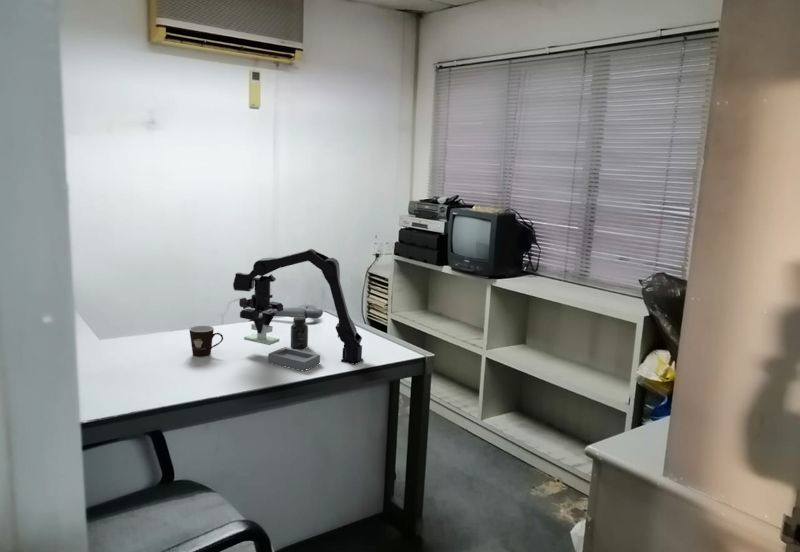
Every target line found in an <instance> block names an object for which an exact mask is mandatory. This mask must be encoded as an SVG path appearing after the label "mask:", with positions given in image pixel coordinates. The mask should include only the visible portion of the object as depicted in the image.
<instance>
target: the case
mask: <svg viewBox="0 0 800 552" xmlns="http://www.w3.org/2000/svg"><path fill="white" fill-rule="evenodd" d="M267 354H268V355H267V356H268V357H267V363H268V362H269V363H268V364H271V363H273V364H272V365H275V364H277V365H276V366H279V365H281V366H280V367H283V366H286V367H285V368H287V367H290V368H289V369H291V368H294V369H293V370H295V369H299V370H303V371H304V372H306V371H307V370H306V369H309V368H311V367H313V366H315V365H317V364H319V363H320V364H321V354H317V353H313V352H309V351H306V350H305V351H304V350H302V349H293V348H292V347H287V346H283V347H280V348H278V349H276V350H274V351H272V352H269V353H267ZM320 364H319V365H320ZM317 366H318V365H317ZM315 367H316V366H315ZM313 368H314V367H313ZM311 369H312V368H311ZM299 370H298V371H299ZM305 370H306V371H305ZM309 370H310V369H309ZM303 371H302V372H303Z"/></svg>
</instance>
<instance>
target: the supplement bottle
mask: <svg viewBox="0 0 800 552" xmlns="http://www.w3.org/2000/svg"><path fill="white" fill-rule="evenodd" d="M292 323H293V324H291V326H290V348H292V349H293V348H295V349H296V350H305V349H307V348H308V346H309V345H308V344H309V327H308V324H306V323H307V321H306V317H304V316H295V317H293V321H292ZM306 347H307V348H306ZM304 348H305V349H304Z"/></svg>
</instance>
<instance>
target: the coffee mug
mask: <svg viewBox="0 0 800 552" xmlns="http://www.w3.org/2000/svg"><path fill="white" fill-rule="evenodd" d="M188 331H189V337H190V342H191V343H190V344H191V345H190V346H191V352H192V356H194V357H195V358H206V357H209V356H211V354H212V353H211V352H212V349H213V348H215V347H217V346H218V345H220V344H221V343H222V342H223V340H224V336H223V334H222V333H220V332H214V331H215V327H213V326H210V325H194V326H192V327H190V328H189V330H188ZM217 335H218V336H220V337H221V340H220V341H219V342H217V343H215V344H214V345H213V338H214V337H215V336H217Z"/></svg>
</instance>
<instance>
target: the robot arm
mask: <svg viewBox="0 0 800 552" xmlns="http://www.w3.org/2000/svg"><path fill="white" fill-rule="evenodd" d="M305 262H310V263H311V264H312V265H313V266H314V267H315V268H318V269H319V270H320V271H321V273H322V274H323V277H324V279H325V281H326V282H327V283H328V285H329V288H330V293H331V295H332V296H331V297H332V299H333V304H334V308H335V311H336V315H337V318H338V322H337V324H336V325H335V330H336V332H337V338H339V340H340V341H341V342H342V343H343V347H342V358H341V359H340V361H341V362H342V361H345V362H344V363H346V362H349V363H348V364H351V363H354V364H353V365H357V364H359V363H361V362H362V361H361V360H363V359H364V358H363V357H362V356H363V355H362V353H363V345H361V341H362V340H363V337H362V336H361V335H360V334H359V332H358V330H357V327H356V326H355V323H354V322H353V320H352V318H351V317H350V314H349V311H348V306H347V303H346V302H347V301H346V300H345V299H346V298H345V295H344V292H343V287H342V284H341V276H340V275H341V273H340V264H339V260H337V259H336V258H334V257H328V256H327V255H324V254H323V253H320V252H318V251H316V250H315V249H313V248H309V249H307V250H303V251H300V252H295V253H291V254H287V255H283V256H280V257H262V258H260V259H258V260H257V261H255V262H254V264H253V269H251V271H250V272H249V273H245V272H244V273H243V272H236V273H235V276H234V279H233V283H232V287H233V291H234V292H237V291H238V292H251V291H252V290H253V289H254V294H251V297H250V298H249V299H247V298H246V297H242V298H239V307H240V308H242V310H241V311H240V312H239V318H240V319H244V320H251V321H253V324H254V323H255V326H256V329H257V330H256V332H257V331H258V333H261V331H262V328H263V324H264V325H269V326H270V324H271V322H272V320H273V319H274V317H275V316H276V314H277V313H276V312H274V310H276V311H277V312H278V313H279V312H282V311H284V305H283V304H282V303H281V302H277V301H271V299H272V298H273V294H271V283H273V282H276V281H277V278H276V277H275V276H273V274H272V272H274V271H277V270H278V269H280V268H281V269H282V268H285V267H289V266H294V265H297V264H301V263H305ZM269 273H271V274H270V275H268V274H269ZM267 275H268V276H267ZM258 276H259V277H258ZM360 361H361V362H360ZM363 361H364V360H363ZM358 362H359V363H358ZM356 363H357V364H356Z"/></svg>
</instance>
